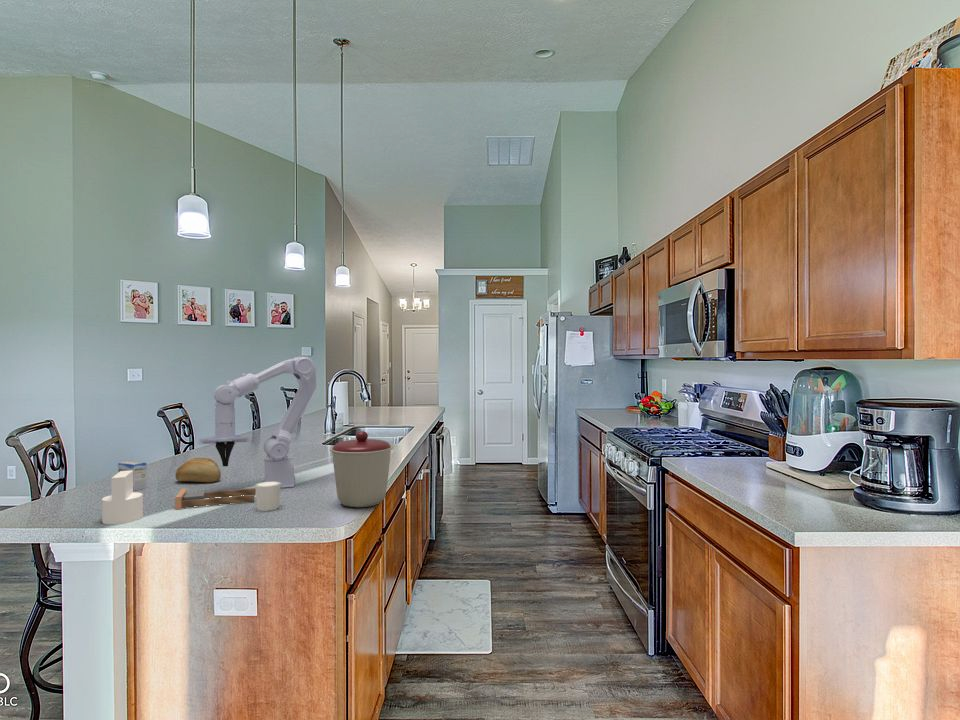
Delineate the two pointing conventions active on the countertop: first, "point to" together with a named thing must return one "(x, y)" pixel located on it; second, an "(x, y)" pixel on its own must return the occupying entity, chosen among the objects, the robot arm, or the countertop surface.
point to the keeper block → (194, 495)
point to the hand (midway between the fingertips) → (225, 465)
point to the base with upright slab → (122, 501)
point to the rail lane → (216, 501)
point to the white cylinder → (268, 495)
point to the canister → (361, 470)
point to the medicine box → (135, 473)
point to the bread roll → (199, 471)
